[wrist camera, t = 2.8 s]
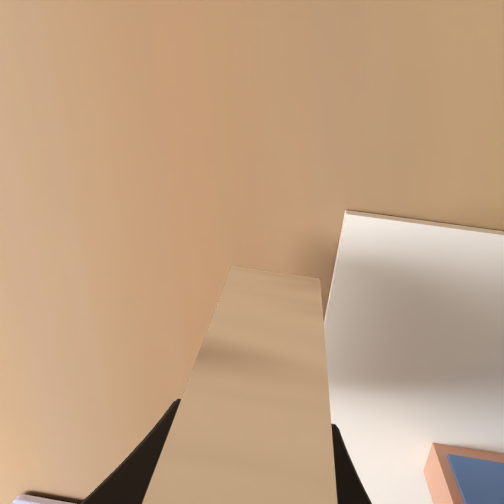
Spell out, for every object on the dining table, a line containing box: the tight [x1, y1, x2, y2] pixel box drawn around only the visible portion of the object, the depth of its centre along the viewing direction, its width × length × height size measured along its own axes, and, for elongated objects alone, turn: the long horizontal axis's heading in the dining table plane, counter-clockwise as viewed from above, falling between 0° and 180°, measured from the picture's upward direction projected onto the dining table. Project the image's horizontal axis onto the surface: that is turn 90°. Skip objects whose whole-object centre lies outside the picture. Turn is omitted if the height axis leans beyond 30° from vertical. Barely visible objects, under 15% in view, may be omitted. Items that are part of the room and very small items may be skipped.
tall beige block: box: [142, 266, 338, 504], centre depth 10 cm, size 6×2×8 cm, turn 174°
